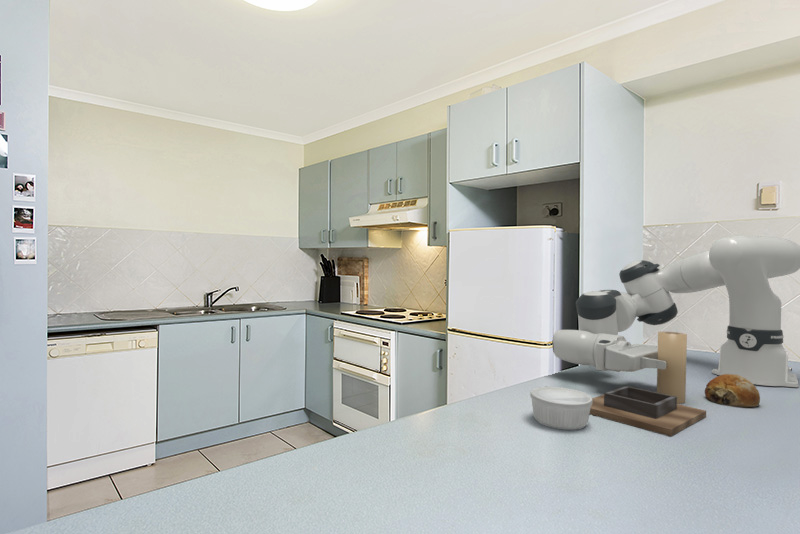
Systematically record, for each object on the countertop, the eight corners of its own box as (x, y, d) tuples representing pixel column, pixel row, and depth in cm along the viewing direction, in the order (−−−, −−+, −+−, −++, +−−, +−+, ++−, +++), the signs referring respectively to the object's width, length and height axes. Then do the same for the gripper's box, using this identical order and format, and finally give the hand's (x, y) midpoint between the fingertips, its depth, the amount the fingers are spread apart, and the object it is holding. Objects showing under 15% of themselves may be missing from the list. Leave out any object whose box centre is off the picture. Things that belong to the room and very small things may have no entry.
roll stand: (616, 395, 106) (616, 379, 106) (706, 416, 92) (706, 398, 92) (575, 409, 94) (575, 391, 94) (671, 436, 80) (671, 415, 80)
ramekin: (571, 437, 79) (572, 407, 79) (517, 419, 88) (518, 392, 88) (603, 424, 86) (604, 396, 86) (550, 409, 95) (551, 383, 95)
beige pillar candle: (662, 394, 107) (663, 330, 107) (689, 400, 103) (690, 333, 103) (652, 399, 103) (653, 332, 103) (679, 405, 99) (681, 335, 99)
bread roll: (762, 426, 98) (779, 392, 98) (719, 404, 98) (736, 371, 98) (730, 411, 108) (745, 381, 108) (690, 391, 108) (706, 361, 108)
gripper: (631, 360, 120) (691, 370, 109) (592, 370, 107) (656, 383, 96) (632, 336, 120) (692, 344, 109) (593, 343, 107) (656, 353, 96)
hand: (675, 362), depth 103 cm, fingers open, 8 cm apart
